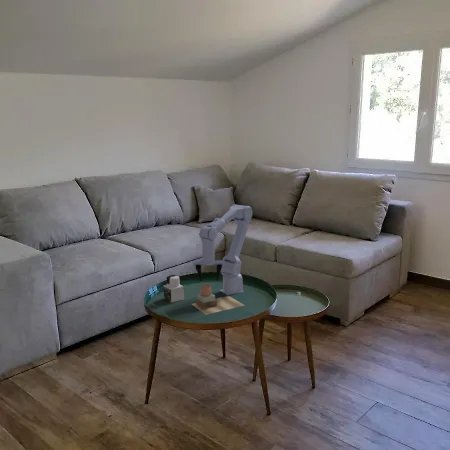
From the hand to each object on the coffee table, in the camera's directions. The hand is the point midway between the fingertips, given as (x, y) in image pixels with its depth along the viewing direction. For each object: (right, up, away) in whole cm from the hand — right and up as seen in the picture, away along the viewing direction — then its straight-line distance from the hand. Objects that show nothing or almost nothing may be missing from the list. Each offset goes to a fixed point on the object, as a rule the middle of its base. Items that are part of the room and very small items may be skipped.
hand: (209, 280), depth 230 cm
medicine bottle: (-17, -10, +5) cm, 21 cm away
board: (+4, -11, -4) cm, 13 cm away
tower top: (-1, -9, -5) cm, 10 cm away
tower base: (-1, -11, -4) cm, 12 cm away
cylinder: (-1, -6, -5) cm, 8 cm away
